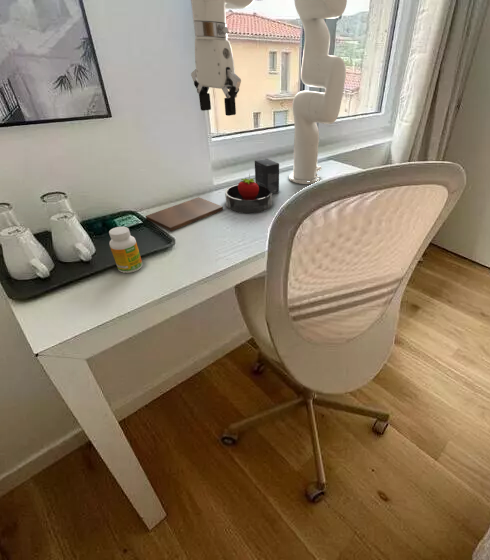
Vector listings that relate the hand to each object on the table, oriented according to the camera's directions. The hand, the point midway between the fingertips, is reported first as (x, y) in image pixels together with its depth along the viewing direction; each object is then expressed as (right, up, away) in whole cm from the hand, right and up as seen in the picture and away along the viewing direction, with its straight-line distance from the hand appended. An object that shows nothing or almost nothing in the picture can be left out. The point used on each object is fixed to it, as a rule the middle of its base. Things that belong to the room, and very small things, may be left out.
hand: (218, 112), depth 86 cm
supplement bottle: (-18, -42, -10) cm, 47 cm away
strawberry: (+5, -19, +23) cm, 30 cm away
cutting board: (-14, -25, +14) cm, 32 cm away
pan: (+5, -19, +23) cm, 30 cm away
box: (+10, -12, +34) cm, 37 cm away
